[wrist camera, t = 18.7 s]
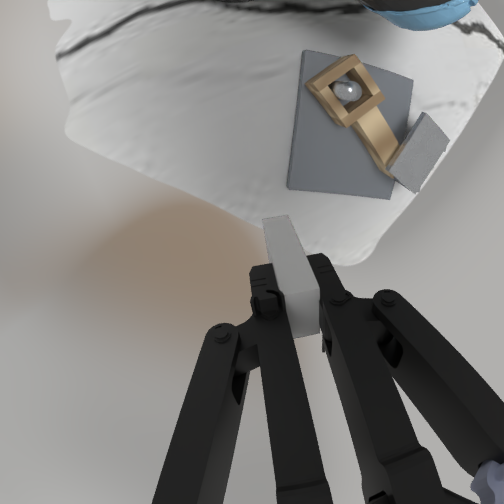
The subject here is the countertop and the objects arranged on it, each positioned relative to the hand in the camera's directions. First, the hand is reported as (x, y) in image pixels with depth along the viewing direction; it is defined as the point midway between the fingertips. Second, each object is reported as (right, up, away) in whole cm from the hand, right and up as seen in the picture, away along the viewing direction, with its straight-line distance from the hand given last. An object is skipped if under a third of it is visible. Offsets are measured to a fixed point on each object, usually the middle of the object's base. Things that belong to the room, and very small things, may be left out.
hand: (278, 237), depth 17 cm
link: (+13, +18, +17) cm, 28 cm away
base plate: (+13, +17, +19) cm, 29 cm away
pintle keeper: (+16, +17, +20) cm, 31 cm away
